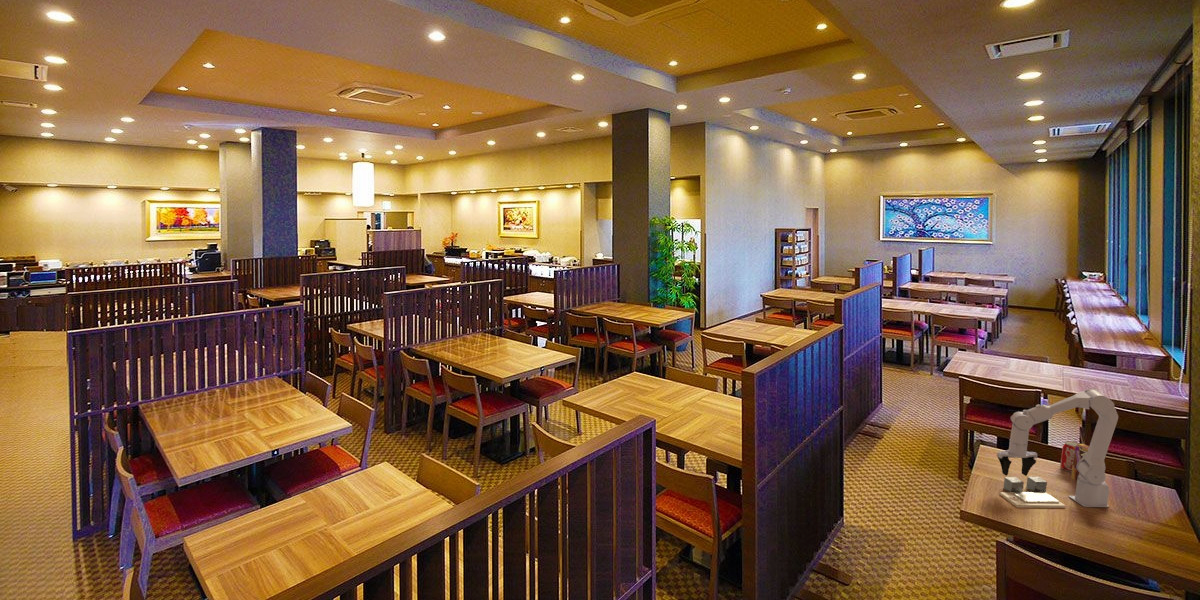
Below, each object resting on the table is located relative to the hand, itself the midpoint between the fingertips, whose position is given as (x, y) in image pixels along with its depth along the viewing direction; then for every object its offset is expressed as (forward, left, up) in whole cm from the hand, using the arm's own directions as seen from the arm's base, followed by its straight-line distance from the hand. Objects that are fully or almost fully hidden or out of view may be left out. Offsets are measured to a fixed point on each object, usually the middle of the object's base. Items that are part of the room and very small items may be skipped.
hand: (1014, 474), depth 235 cm
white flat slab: (-4, +8, -6) cm, 10 cm away
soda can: (-38, -19, -7) cm, 43 cm away
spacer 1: (0, 0, -7) cm, 7 cm away
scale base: (-2, +8, -7) cm, 11 cm away
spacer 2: (-10, 0, -7) cm, 12 cm away
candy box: (-35, -7, -7) cm, 36 cm away
